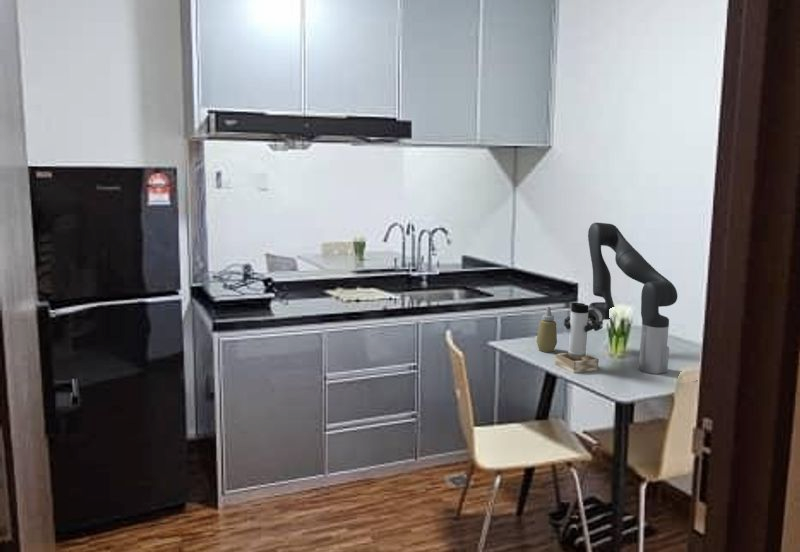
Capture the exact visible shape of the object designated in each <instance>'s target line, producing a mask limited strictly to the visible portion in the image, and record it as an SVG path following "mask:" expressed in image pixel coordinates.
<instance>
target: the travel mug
mask: <svg viewBox="0 0 800 552" xmlns="http://www.w3.org/2000/svg"><path fill="white" fill-rule="evenodd" d="M570 305H571V306H570V307H571V309H570V316H569V317H570V329H569V337H568V351H567V353H568V354H569V355H570V356H572V357H584V356H586V354H587V352H586V351H587V340H588V332H585V326H586V325H587V324H588V309H589V305H590V304H585V303H582V302H571V304H570Z"/></svg>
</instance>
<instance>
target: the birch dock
mask: <svg viewBox="0 0 800 552" xmlns="http://www.w3.org/2000/svg"><path fill="white" fill-rule="evenodd" d="M554 362H555V363H554V365H555V366H557V367H560V368H561V369H564V370H566V371H569V372H571V373H573V374H577V373H582V372H591V371H599V358H597V357H594V356H592V355H589V354H587V353H586V356H584V357H572V356H570V355H569V354H568V352H565V353H557V354H555V361H554Z"/></svg>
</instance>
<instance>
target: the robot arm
mask: <svg viewBox="0 0 800 552" xmlns="http://www.w3.org/2000/svg"><path fill="white" fill-rule="evenodd" d="M587 241H588V247H589V254H590V258H591V259H590V260H591V268H592V294H593V295H594V296H595V297H599V298H603V299H604V301H603V302H602V301H599V302H598V301H595V302H591V303H590V304H588V305H589V308H588V324H587V325H586V326H585V332H587V333H588V332H589V331H593V330H594V332H598V331H599V330H602V329H603V326H604V325H603V324H604V320H607V321H608V320H609V319H610V318H609V309H610V308H612V307H615V304H614V301H613V297H612V277H611V272H610V269H609V267H608V265H607V264H606V261H605V260H604V257H603V253H602V246H604V247H609V248H610V249H612V250H613V251H614V253H615V264H616V266H617V267H618V268H619V269H620V270H621V271H622V273H623V274H624V275H626V276H627V277H628V278H630V279H632V280H635V281H636V282H638V283H641V284H643V287H642V289H641V297H640V316H641V330H640V331H641V333H640V347H639V355H638V356H639V359H638V370H639V371H641V372H643V373H648V374H654V375H655V374H657V375H659V374H664V373H668V368H669V355H670V347H669V346H668V338H669V330H670V328H669V327H670V318H669V317H667V316H665V315H663V314H660V310H659V307H669V306H673V305H674V304H675V303H677V300H678V292H677V291H678V290H677V289H676V287H675V285H674V284H673V283H672V282H671V281H670V280H668V278H666V277H665V276H664V275H662V274H661V273H659V272H658V270H656V268H655V267H653V265H651V264H650V263H649V262H648V261H647V260H646V259H645V257H643V256H642V254H641V253H640V252H639V251H638V250H636V249H635V248H634V247H633V246H632V244H631V243H630V242H629V241H628V240H627V239H626V237H624V235H623V233H622V232H621V231H620V229H619V228H618V227H617V226H616V225H614V224H612V223H605V222H593V223H592V224H591V225H590V226H589V228H588V230H587ZM570 317H571V316H567V317H566V318H564V323H563V325H564V327H565V328H566V330H570ZM610 320H611V319H610Z"/></svg>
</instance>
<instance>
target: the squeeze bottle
mask: <svg viewBox="0 0 800 552" xmlns="http://www.w3.org/2000/svg"><path fill="white" fill-rule="evenodd" d="M545 310H546V311H545V313H544V314H543V315H542V316H541V320H540V321H539V324H538V330H537V335H536V345H537V348H538V350H539V351H540V352H544V353H552V352H554V351H555V349H556V346H557V343H558V341H557V340H558V338H557V337H558V336H557V331H558V330H557V322H556V321H555V316H554V315H553V314H552V309H551V306H547V307H546V309H545Z"/></svg>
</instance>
